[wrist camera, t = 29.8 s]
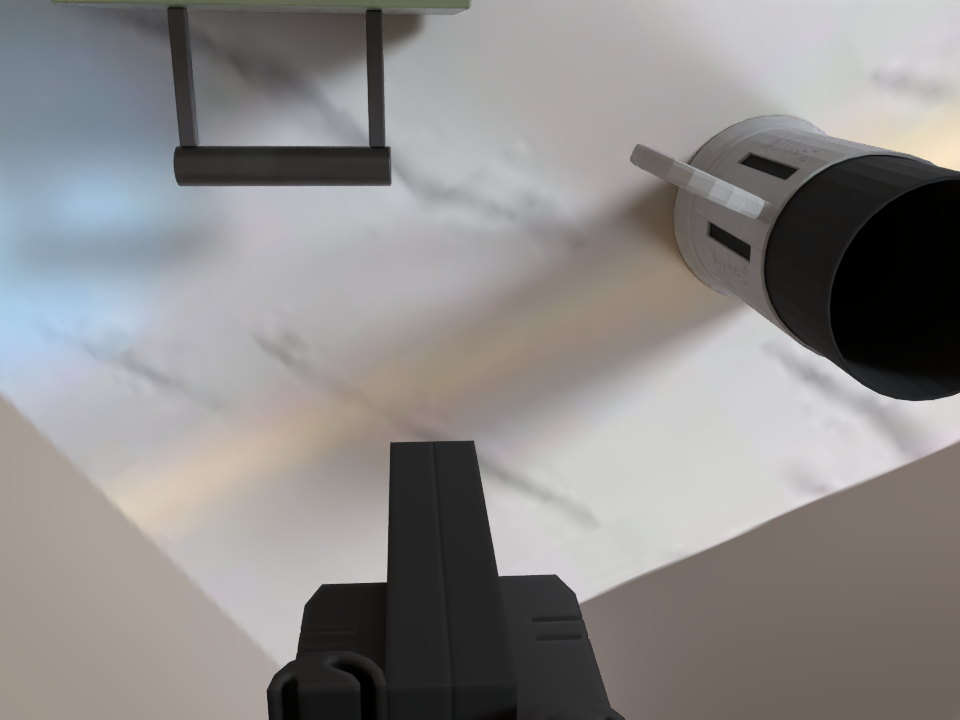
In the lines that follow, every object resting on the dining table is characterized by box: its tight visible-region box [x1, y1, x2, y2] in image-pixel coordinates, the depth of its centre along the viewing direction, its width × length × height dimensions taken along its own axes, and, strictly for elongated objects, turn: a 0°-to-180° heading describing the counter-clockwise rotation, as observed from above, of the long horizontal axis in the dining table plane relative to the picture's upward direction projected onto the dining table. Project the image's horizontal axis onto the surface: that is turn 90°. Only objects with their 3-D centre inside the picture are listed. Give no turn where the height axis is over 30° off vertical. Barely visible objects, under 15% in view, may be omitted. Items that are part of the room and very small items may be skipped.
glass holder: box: [630, 115, 960, 401], centre depth 36 cm, size 9×14×15 cm, turn 66°
